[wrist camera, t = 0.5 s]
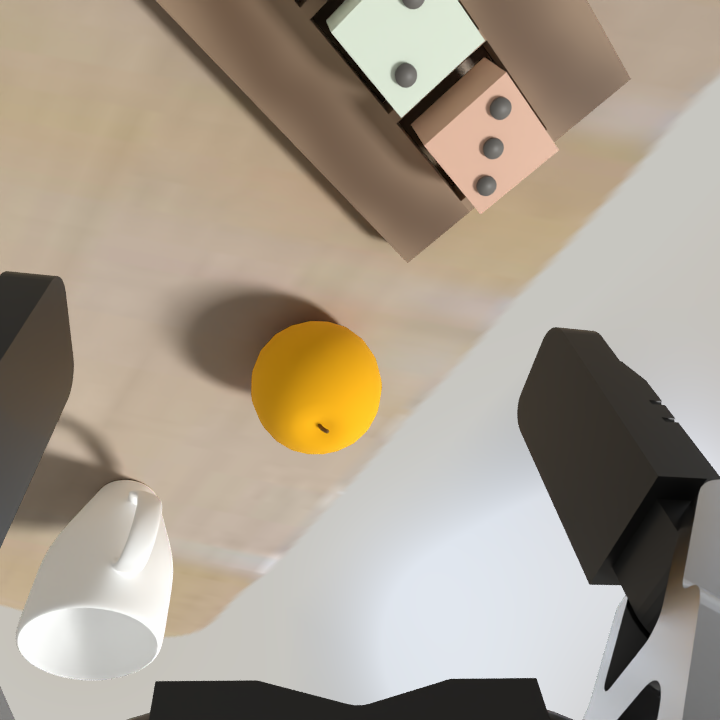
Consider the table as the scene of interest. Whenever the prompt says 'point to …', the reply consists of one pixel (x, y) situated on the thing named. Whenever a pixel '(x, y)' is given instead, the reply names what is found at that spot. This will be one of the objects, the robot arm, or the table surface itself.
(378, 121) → the socket board
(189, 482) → the table surface
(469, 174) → the pink dotted block
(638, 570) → the robot arm
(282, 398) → the orange
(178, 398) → the table surface
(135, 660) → the mug
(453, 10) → the pale green dotted block
